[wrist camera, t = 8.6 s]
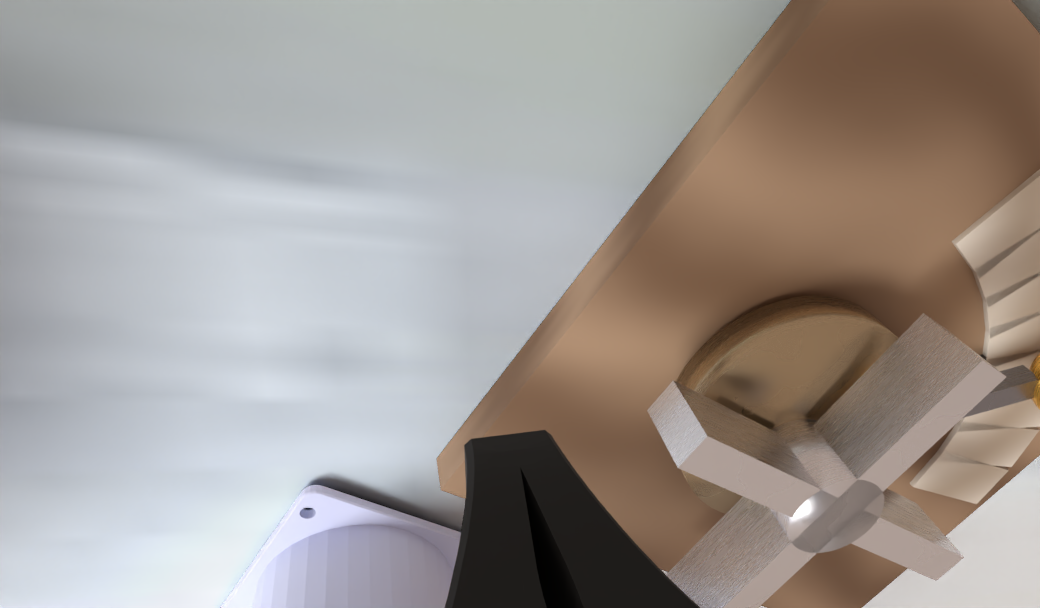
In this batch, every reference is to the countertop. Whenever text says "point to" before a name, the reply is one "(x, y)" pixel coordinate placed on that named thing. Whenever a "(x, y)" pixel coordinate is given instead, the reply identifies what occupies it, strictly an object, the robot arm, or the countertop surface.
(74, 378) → the countertop surface
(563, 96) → the countertop surface
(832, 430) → the capstan
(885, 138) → the lever board
